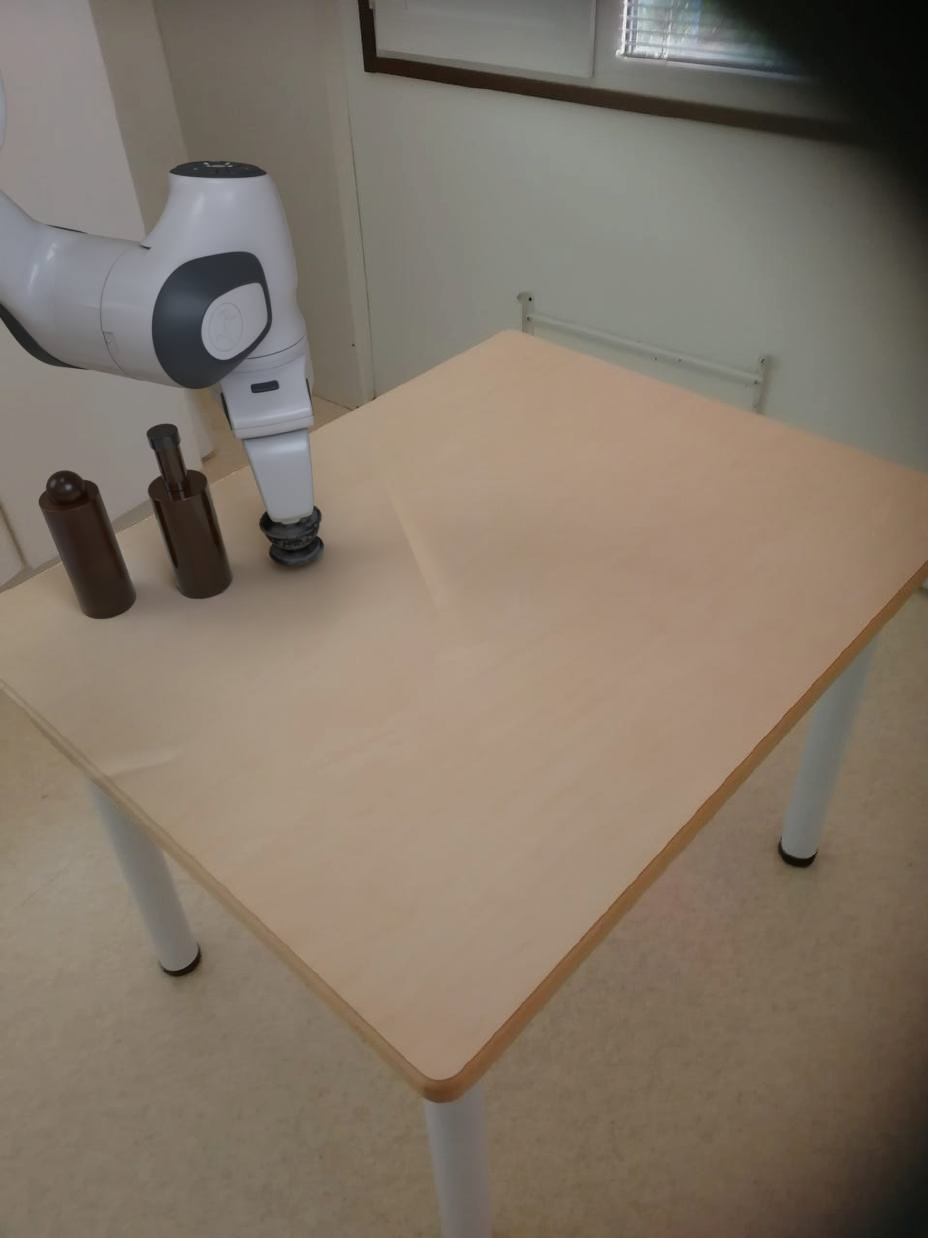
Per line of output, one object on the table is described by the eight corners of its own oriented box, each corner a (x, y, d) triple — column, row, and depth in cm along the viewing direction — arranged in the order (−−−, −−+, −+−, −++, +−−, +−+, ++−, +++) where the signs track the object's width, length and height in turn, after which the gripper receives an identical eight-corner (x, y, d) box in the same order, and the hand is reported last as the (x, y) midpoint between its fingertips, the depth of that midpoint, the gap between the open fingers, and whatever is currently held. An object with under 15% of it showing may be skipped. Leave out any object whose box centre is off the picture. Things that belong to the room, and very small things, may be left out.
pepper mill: (81, 624, 88) (27, 494, 78) (82, 591, 91) (31, 463, 82) (136, 612, 89) (90, 482, 79) (135, 580, 92) (90, 452, 83)
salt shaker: (339, 542, 93) (321, 433, 85) (300, 575, 89) (278, 464, 81) (293, 525, 95) (271, 417, 87) (253, 556, 91) (227, 447, 84)
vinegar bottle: (179, 604, 89) (131, 451, 78) (176, 571, 93) (129, 421, 82) (235, 592, 90) (195, 440, 79) (230, 560, 94) (191, 411, 83)
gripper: (210, 324, 87) (241, 456, 96) (232, 432, 72) (266, 576, 81) (280, 313, 88) (303, 444, 97) (315, 417, 73) (339, 561, 82)
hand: (286, 505), depth 89 cm, fingers closed on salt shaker, 3 cm apart
